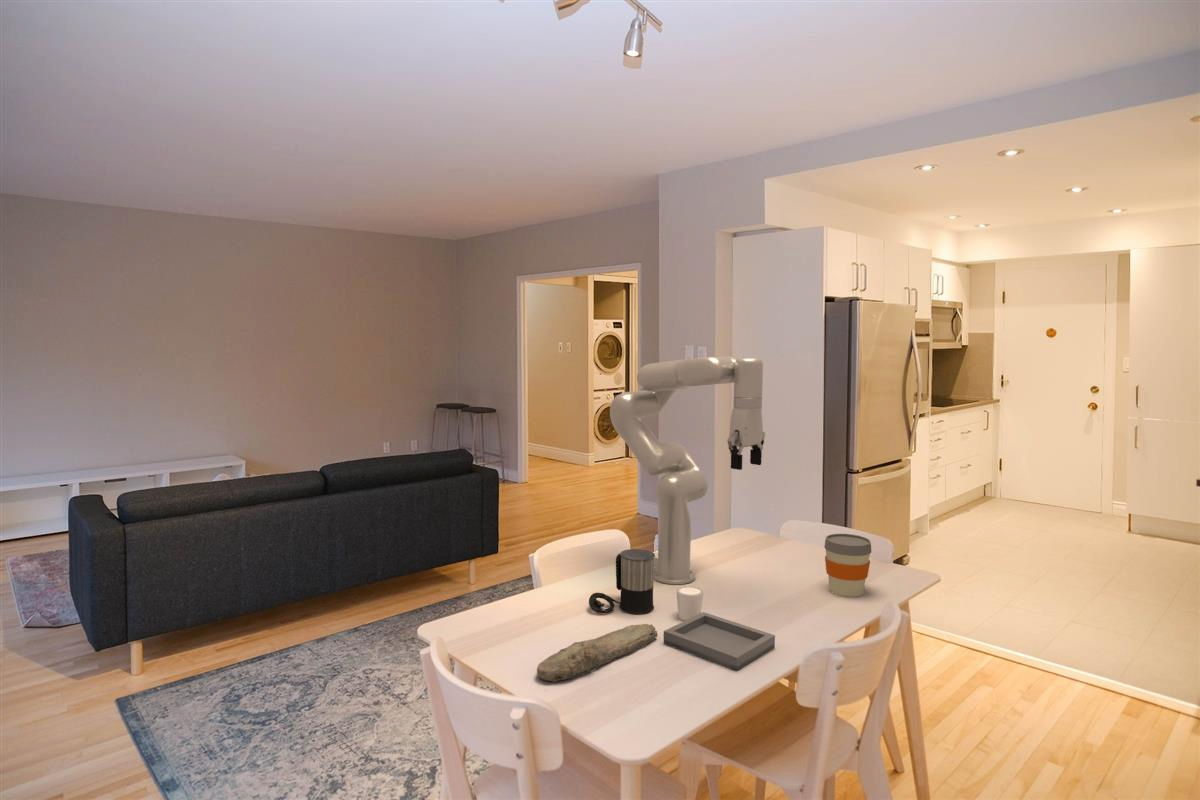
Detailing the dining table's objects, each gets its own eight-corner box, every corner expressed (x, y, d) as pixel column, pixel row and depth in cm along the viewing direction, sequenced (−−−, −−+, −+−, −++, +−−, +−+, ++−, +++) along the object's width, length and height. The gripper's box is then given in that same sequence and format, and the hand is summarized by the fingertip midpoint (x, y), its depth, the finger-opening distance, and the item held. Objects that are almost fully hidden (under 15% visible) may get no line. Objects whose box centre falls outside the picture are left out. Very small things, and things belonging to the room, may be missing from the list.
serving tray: (663, 643, 166) (663, 631, 166) (703, 623, 178) (703, 612, 178) (736, 671, 153) (737, 657, 152) (774, 647, 164) (775, 635, 164)
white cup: (702, 623, 178) (702, 596, 177) (674, 621, 179) (675, 594, 179) (703, 613, 185) (704, 587, 184) (677, 611, 186) (677, 585, 186)
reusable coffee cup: (855, 603, 192) (857, 549, 191) (814, 590, 202) (815, 538, 200) (878, 592, 201) (880, 540, 199) (837, 580, 210) (839, 530, 209)
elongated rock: (668, 646, 168) (636, 636, 175) (668, 624, 168) (637, 615, 175) (557, 690, 144) (526, 675, 151) (557, 664, 144) (526, 651, 151)
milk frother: (661, 608, 188) (662, 553, 187) (622, 625, 177) (622, 567, 175) (621, 594, 198) (621, 542, 196) (581, 610, 186) (581, 555, 185)
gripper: (752, 400, 199) (750, 461, 201) (717, 404, 187) (716, 469, 188) (776, 402, 194) (774, 464, 196) (742, 406, 182) (741, 473, 183)
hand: (746, 466), depth 192 cm, fingers open, 9 cm apart
